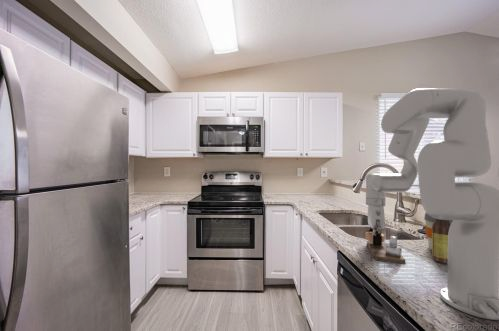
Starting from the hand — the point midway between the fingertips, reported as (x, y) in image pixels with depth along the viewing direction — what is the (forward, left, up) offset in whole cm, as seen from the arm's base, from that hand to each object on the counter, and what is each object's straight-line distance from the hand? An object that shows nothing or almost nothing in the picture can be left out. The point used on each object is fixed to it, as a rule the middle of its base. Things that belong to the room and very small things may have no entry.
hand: (374, 241), depth 100 cm
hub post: (0, 0, -1) cm, 1 cm away
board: (-6, -2, -3) cm, 7 cm away
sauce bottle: (-7, -22, -3) cm, 23 cm away
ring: (0, 0, +1) cm, 1 cm away
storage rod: (-11, -4, -1) cm, 12 cm away
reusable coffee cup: (+7, -28, -3) cm, 29 cm away
